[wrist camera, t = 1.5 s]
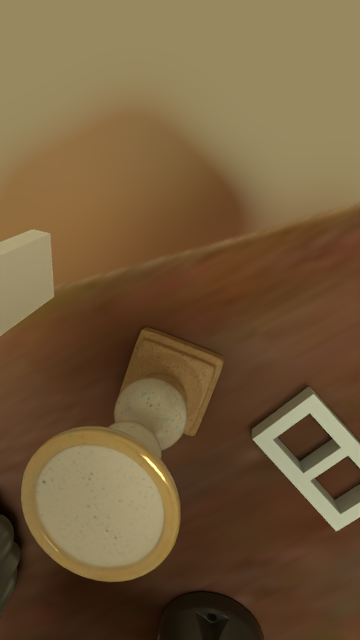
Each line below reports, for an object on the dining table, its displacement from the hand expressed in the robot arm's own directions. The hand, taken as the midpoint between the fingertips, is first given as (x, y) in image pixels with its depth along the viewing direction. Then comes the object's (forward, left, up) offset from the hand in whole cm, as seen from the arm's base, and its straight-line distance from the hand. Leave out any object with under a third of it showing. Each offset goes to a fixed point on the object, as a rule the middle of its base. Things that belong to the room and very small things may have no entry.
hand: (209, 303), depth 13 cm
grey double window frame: (-24, +6, -28) cm, 38 cm away
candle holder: (-5, +14, -29) cm, 32 cm away
